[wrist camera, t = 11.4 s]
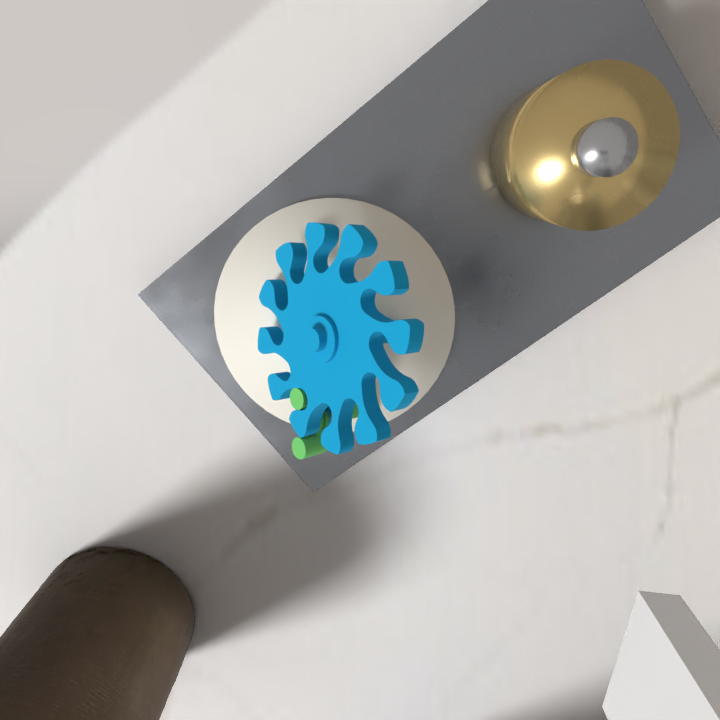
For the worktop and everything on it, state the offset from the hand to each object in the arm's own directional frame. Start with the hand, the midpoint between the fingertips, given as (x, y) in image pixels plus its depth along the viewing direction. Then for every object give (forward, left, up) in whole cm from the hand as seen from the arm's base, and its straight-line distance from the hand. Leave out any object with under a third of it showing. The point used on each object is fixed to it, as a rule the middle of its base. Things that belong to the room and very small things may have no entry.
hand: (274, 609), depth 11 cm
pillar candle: (+12, +20, -21) cm, 31 cm away
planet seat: (0, -1, -19) cm, 19 cm away
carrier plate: (-4, -5, -21) cm, 22 cm away
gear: (0, 0, -19) cm, 19 cm away
